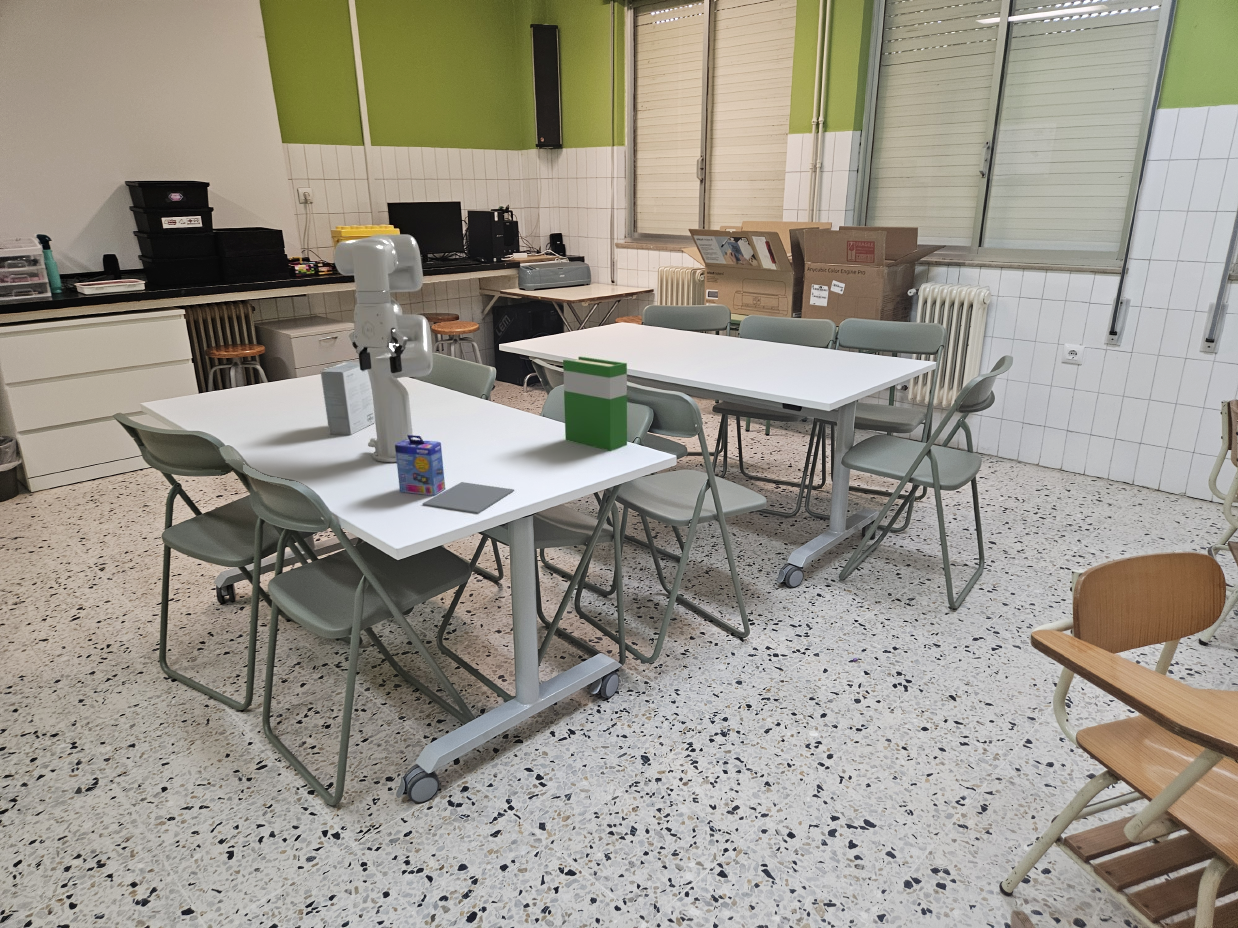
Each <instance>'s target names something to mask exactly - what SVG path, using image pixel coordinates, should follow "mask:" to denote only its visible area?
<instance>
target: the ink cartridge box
mask: <svg viewBox="0 0 1238 928" xmlns="http://www.w3.org/2000/svg"><path fill="white" fill-rule="evenodd" d="M407 436H408V439H405V440H403V441H401V442H399V443H397V444H395V451H396V460H397V462H396V468H397V477H398V486H399V492H400V493H406V494H416V495H417V494H418V495H423V496H424V495H425V496H430V497H432V496H433V497H435V496H437V495H439V494H441V493H442V492H444V491H445V490H446V483H445V472H444V471H445V470H444V462H443V451H442V443H441V442H439V441H437V440H436V441H433V440H423V437H422V436H420V435H414V434H413V435H407ZM411 438H413V439H411ZM414 438H415V439H414Z"/></svg>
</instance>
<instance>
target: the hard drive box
mask: <svg viewBox="0 0 1238 928" xmlns="http://www.w3.org/2000/svg"><path fill="white" fill-rule="evenodd" d="M320 377H321V387H322V391H323V399H324V405H325V406H324V407H325V413H326V420H327V427H328V433H329V435H339V436H341V435H342V436H351V435H353V434H355V433H358V432H360V431H361V430H363V429H365V428H367V427H369V425H370V426H371V425H373V424H375V415H374V406H373V397H372V389H371V383H370V379H369V374H368V371H367V370H363V371H362V370H360V364H359V361H346V362H345V361H344V362H343V363H340V364H337V365H335V366H332V367H329V368H327V369H324V370H321V371H320Z"/></svg>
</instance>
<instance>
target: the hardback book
mask: <svg viewBox="0 0 1238 928" xmlns="http://www.w3.org/2000/svg"><path fill="white" fill-rule="evenodd" d="M562 363H563V364H562V366H563V367H562V368H563V397H564V399H563V400H564V402H563V405H564V427H565V429H564V430H565V434H564V435H565V439H564V440H565V441H567V442H572V443H576V444H579V445H580V444H581V445H585V446H589V447H593V448H597V449H601V450H604V451H610V452H611V451H615V450H617V449H620V448H623V447H626V446H628V363H627V362H621V361H614V360H608V359H602V358H601V359H600V358H592V357H586V356H578V359H576V360H570V359H563V360H562Z"/></svg>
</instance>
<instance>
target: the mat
mask: <svg viewBox="0 0 1238 928" xmlns="http://www.w3.org/2000/svg"><path fill="white" fill-rule="evenodd" d="M513 491H514V492H515V489H514V488H506V487H500V486H491V485H486V484H479V483H471V482H464V481H461V482H459V483H458V484H455V485H454V486H452V487H450V488H448V489H445V490H443V491H441V492H440V493H438V494H436V495H434V496H433V497H431V498H430V499H428V500H426V501H424V502H423V503H422V506H427V507H433V508H438V509H444V510H453V511H458V512H465V513H469V514H477V515H479V514H481V513H482V512H483V511H485V510H486V509H488V508H490V507H491V506H493V505H495V504H497V503H498V502H499V501H501V500H502V499H504V498H506V497H507V496H508V494H509V495H510V494H511V493H513Z"/></svg>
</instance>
